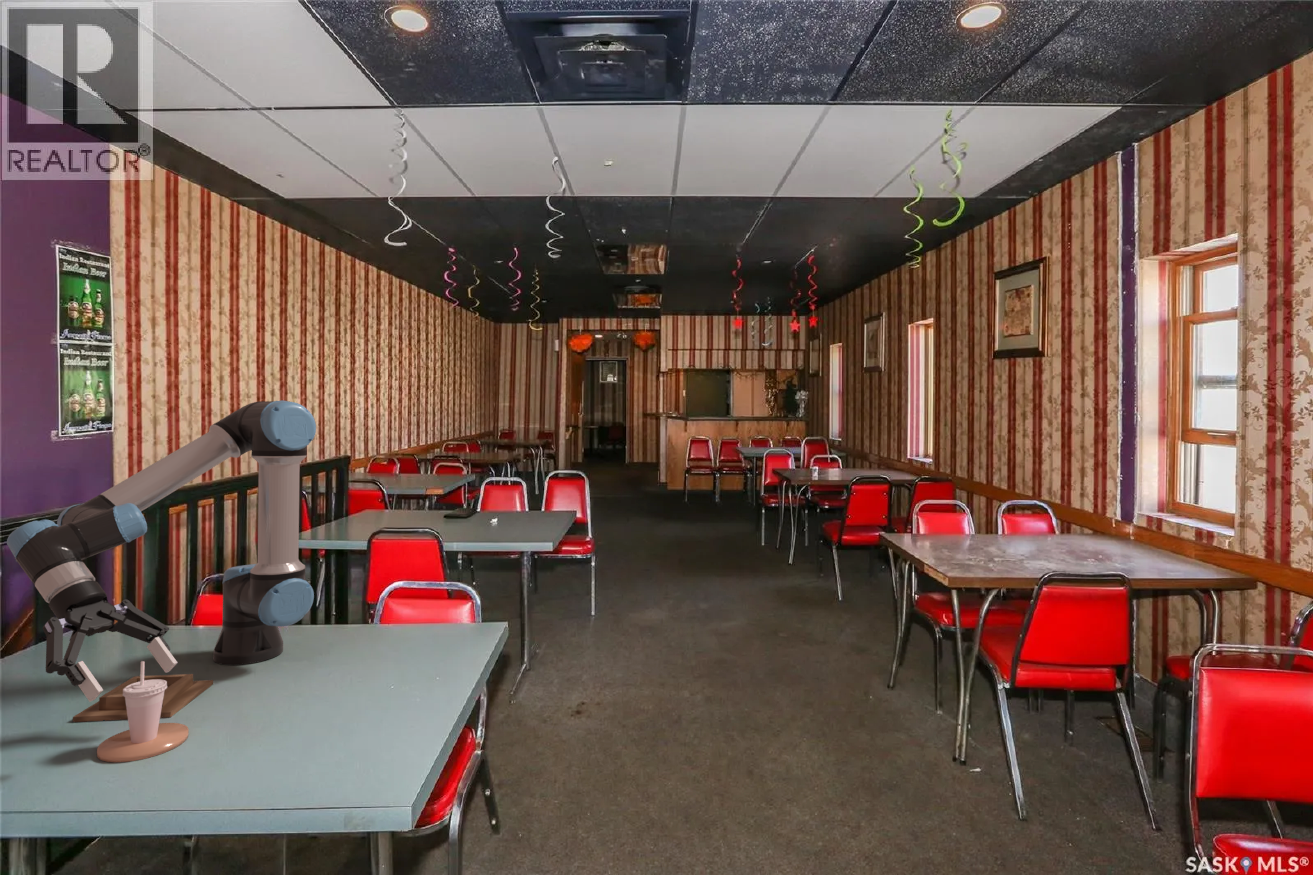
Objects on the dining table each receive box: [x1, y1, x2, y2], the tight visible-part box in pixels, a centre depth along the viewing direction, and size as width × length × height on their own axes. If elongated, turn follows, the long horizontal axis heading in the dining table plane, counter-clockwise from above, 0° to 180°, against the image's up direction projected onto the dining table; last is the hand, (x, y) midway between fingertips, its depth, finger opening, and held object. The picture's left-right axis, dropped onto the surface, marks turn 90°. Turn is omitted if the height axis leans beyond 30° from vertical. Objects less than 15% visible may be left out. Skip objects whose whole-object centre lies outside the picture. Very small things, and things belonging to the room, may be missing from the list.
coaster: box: [96, 722, 190, 763], centre depth 117 cm, size 13×13×1 cm
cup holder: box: [72, 673, 214, 723], centre depth 135 cm, size 17×17×4 cm
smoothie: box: [123, 660, 167, 743], centre depth 117 cm, size 6×6×14 cm
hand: (136, 681), depth 117 cm, fingers open, 13 cm apart
